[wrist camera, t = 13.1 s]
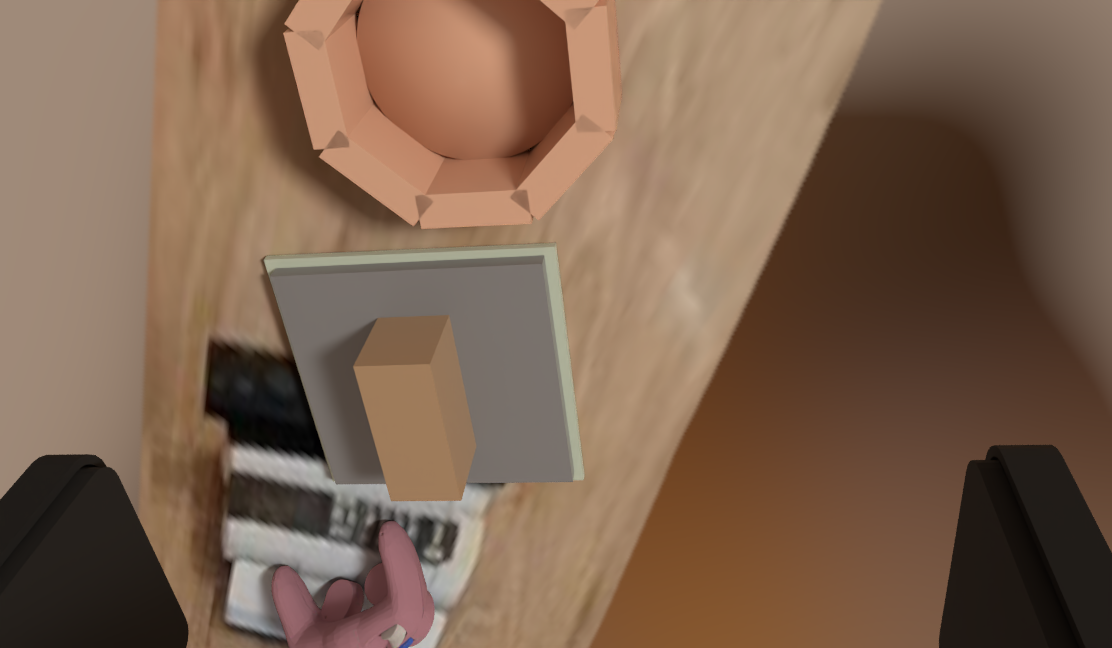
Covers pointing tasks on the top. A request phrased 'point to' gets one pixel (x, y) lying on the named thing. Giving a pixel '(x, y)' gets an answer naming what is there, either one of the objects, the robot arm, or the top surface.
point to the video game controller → (361, 602)
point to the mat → (454, 254)
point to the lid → (431, 372)
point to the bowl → (458, 100)
